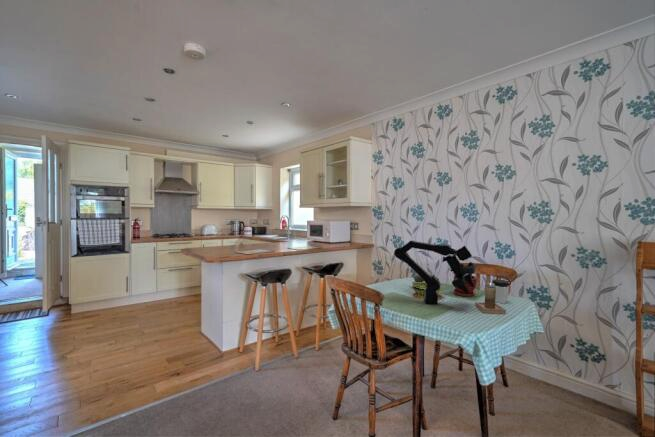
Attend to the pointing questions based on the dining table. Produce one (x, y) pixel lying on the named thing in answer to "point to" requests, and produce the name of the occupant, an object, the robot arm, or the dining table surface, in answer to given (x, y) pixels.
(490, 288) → the pepper mill
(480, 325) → the dining table surface
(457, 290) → the plant pot
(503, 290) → the jar
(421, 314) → the dining table surface
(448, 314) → the dining table surface
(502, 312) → the stand
